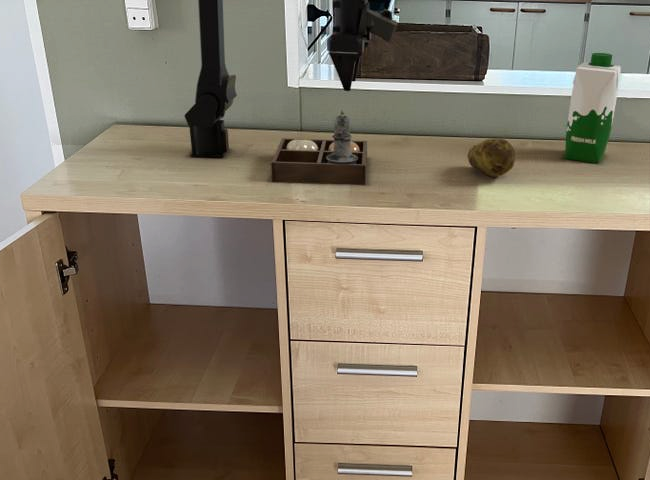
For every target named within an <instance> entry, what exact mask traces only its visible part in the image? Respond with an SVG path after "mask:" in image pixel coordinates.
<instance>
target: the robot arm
mask: <svg viewBox="0 0 650 480" xmlns="http://www.w3.org/2000/svg"><path fill="white" fill-rule="evenodd" d="M197 3H198V4H197V5H198V23H199V27H198V28H199V43H200V45H199V46H200V63H201V64H200V70H199V73H198V77H197V82H196V88H195V98H194V104H193V105H192V106H191V107H190V108H189V110H188V111H187V112H186V113H185V114H184V119H185V121H186V123H187V126H188V128H189V137H190V148H191V151H190V153H189V157H193V158H194V157H195V158H196V157H197V158H224V157H225V155H226V154H227V152H228V150H229V149H230V144H229V143H230V142H229V130H228V127H226V126H225V120H224V119H223V118H224V117H225V114H226V111H227V110H229V108H231V107H232V105H233V103H234V100H235V98H236V97H237V96H238V93H237V92H236V81H237V75H236V74H229V72H228V69H227V66H226V58H225V57H226V53H225V26H224V25H225V24H224V0H197ZM332 8H333V9H334V25H333V26H332V34H331V35H330V36H329V37H328V38H327V39H326V51H327V52H328V56H329V57H330V59H331V62H332V64H333V66H334V69H335V72H336V73H337V75H338V78H339V81H340V83H341V86H342V88H343V90H344V91H345V92H351V89H352V83H354V82H356V80H357V75H358V72H359V71H358V70H359V66H360V61H361V57H362V56H363V55H364V54H365V53H364V51H365V49H366V48H367V47H368V46H369V44H370V43H371V39H372V35H375V36H377V37H379V38H381V39H382V40H383V41H385V42H387V43H391V42H392V40H393V37H394V34H395V31H396V29H397V27H398V21H397V20H396V19H395V20H394V19H393V12H392V11H391V10H388V9H387V8H384V9H383V10H382V11H380V13H379V12H378V11H374V10H371V9H370V2H369V1H368V0H333V1H332ZM365 39H366V40H365Z"/></svg>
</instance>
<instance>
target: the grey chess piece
mask: <svg viewBox="0 0 650 480" xmlns="http://www.w3.org/2000/svg"><path fill="white" fill-rule="evenodd" d="M344 114H345V112H344V111H343V110H341V111H340V114H339V115H338V116H336V117H335V118H334V122H333V123H334V127H333V128H334V129H333V131H334V133H333V135H332V136H331V137H332V139H333V140H334V150H333V153H332V154H329V155H328V156H326V159H327V160H328V163H334V164H356V161H357V160H358V157H357V156H356V155H354V154H352V153H351V149H350V140H351V139H352V138H353V136H352V135H351V120H350V118H349V117H348V116H346V115H344Z"/></svg>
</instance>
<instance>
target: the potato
mask: <svg viewBox="0 0 650 480" xmlns="http://www.w3.org/2000/svg"><path fill="white" fill-rule="evenodd" d="M516 156H517V155H516V151H515V149H514V147H513V145H512V144H511V143H510V142H509V140H506V139H503V138H499V137H498V138H497V137H489V138H487V139H485V140H483V141H481V142H478V143H477V144H475V145H473V146H471V148H470V149H469V150H468V152H467V161H468V163H469V165H470V166H471V167H472V168H474V170H477V171H479V172H480V173H482V174H483V175H486V176H488V177H494V178H495V177H500V176H503V175H505V174H507V173H508V172H509V171H511V170H512V169H513V167H514V166H515V163H516V159H517V158H516Z"/></svg>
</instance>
